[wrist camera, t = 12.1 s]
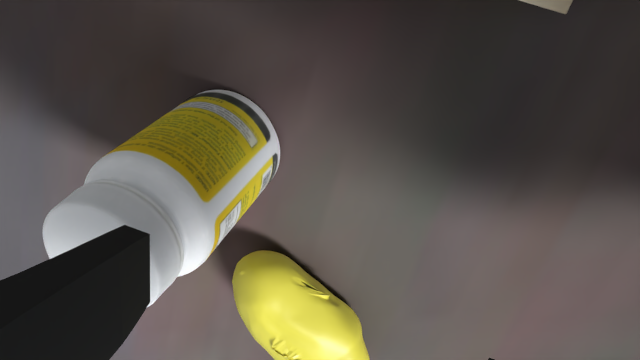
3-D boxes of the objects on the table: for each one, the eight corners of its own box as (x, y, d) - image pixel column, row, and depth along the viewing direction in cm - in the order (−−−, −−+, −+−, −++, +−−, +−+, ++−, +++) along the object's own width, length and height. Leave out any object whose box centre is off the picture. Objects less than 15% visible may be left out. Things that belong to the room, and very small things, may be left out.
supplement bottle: (167, 90, 22) (3, 188, 15) (269, 82, 20) (136, 188, 13) (199, 190, 24) (68, 316, 17) (293, 190, 22) (190, 331, 15)
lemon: (288, 217, 23) (251, 270, 20) (400, 339, 24) (382, 408, 21) (232, 254, 25) (190, 308, 22) (338, 365, 27) (313, 430, 24)
